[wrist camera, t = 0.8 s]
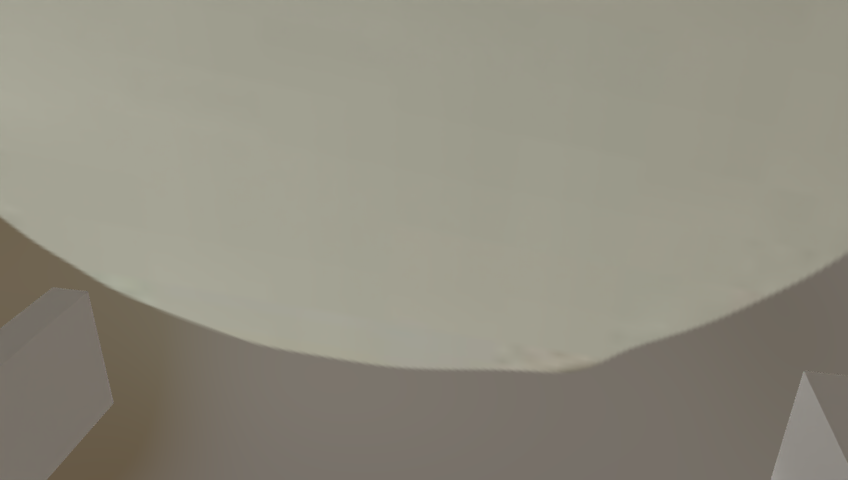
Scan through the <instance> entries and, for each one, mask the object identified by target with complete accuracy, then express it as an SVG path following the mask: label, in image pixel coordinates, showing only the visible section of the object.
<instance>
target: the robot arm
mask: <svg viewBox="0 0 848 480" xmlns="http://www.w3.org/2000/svg"><path fill="white" fill-rule="evenodd" d="M113 403H114V402H113V398H112V394H111V390H110V385H109V381H108V377H107V372H106V368H105V364H104V359H103V355H102V351H101V346H100V342H99V337H98V333H97V329H96V324H95V321H94V316H93V312H92V307H91V303H90V298H89V294H88V291H80V290H71V289H62V288H51V289H50V290H49V291H47V292H46V293H45V294H43V295H42V296H41V297H40V298H39V299H37V300H36V301H35V302H33V303H32V304H31V305H29V306H28V307H27V308H26V309H24V310H23V311H22V312H21V313H19V314H18V315H17V316H15V317H14V318H13V319H12V320H10V321H9V322H8V323H7V324H5V325H4V326H3V327H1V328H0V480H47V478H49V476H50V475H51V474H52V473H53V472H54V471H55V469H56V468H57V467H58V466H59V465H60V464H61V463H62V461H63V460H64V459H65V458H66V457H67V456H68V455H69V454H70V452H71V451H72V450H73V449H74V448H75V447H76V445H77V444H78V443H79V442H80V441H81V440H82V438H84V436H85V435H86V434H87V433H88V432H89V431H90V430H91V428H92V427H93V426H94V425H95V424H96V423H97V422H98V420H99V419H100V418H101V417H102V416H103V415H104V413H105V412H106V411H107V410H108V409H109V408H110V407H111V405H112V404H113ZM771 480H848V376H847V375H839V374H829V373H821V372H820V373H819V372H811V371H804V372H803V375H802V379H801V382H800V385H799V389H798V392H797V395H796V398H795V402H794V405H793V408H792V411H791V415H790V418H789V422H788V425H787V428H786V431H785V435H784V438H783V441H782V445H781V448H780V451H779V454H778V458H777V461H776V464H775V468H774V471H773V474H772V478H771Z"/></svg>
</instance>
